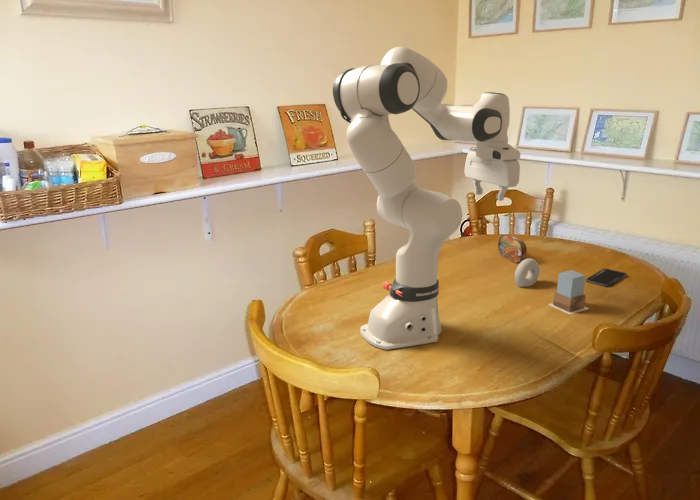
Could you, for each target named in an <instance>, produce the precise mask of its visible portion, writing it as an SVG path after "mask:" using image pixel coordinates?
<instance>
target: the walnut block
mask: <svg viewBox="0 0 700 500" xmlns="http://www.w3.org/2000/svg"><path fill="white" fill-rule="evenodd" d="M586 297H587V294H584V293H583V295H581V296H578V297H574V298H569V297H566V296H564V295H562V294H559V293H557V291H554V292H553V305H554V306H556V307H559V308H561V309H563V310H565V311H567V312H572V311H576V310H579V309H583V308H584V306H585V303H586ZM585 307H586V306H585Z"/></svg>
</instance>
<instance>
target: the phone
mask: <svg viewBox="0 0 700 500" xmlns="http://www.w3.org/2000/svg"><path fill="white" fill-rule="evenodd" d="M627 276H628V273H626V272H624V271H618V270H613V269H610V268H603V269H601V270H599V271H597V272H595V273H594V274H592V275H591V276H589V277H587V278H585V281H586V282H587V283H589V284H593V285H595V286H596V285H597V286H600V287H603V288H604V287H605V288H610V287H612V286H614V285H615V284H617V283H619V282H620V281H622V280H623V279H625V278H627ZM586 282H585V283H586Z"/></svg>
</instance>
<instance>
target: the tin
mask: <svg viewBox="0 0 700 500" xmlns="http://www.w3.org/2000/svg"><path fill="white" fill-rule="evenodd" d="M497 246H498V252H499V254H500V256H501V257H503V258H505V259H507V260H509V261H511V262H512V263H521V262H522V261H523V260H525V259H527V258H526V257H527V250H528V249H527V245H526V243H525V241H524V240H522V239H520V238H517V237H515V236H513V235H510V234H503V235H501V236H500V237H499V239H498V244H497Z"/></svg>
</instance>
